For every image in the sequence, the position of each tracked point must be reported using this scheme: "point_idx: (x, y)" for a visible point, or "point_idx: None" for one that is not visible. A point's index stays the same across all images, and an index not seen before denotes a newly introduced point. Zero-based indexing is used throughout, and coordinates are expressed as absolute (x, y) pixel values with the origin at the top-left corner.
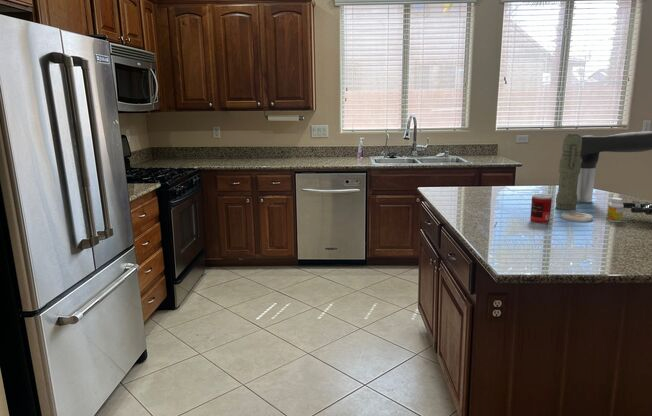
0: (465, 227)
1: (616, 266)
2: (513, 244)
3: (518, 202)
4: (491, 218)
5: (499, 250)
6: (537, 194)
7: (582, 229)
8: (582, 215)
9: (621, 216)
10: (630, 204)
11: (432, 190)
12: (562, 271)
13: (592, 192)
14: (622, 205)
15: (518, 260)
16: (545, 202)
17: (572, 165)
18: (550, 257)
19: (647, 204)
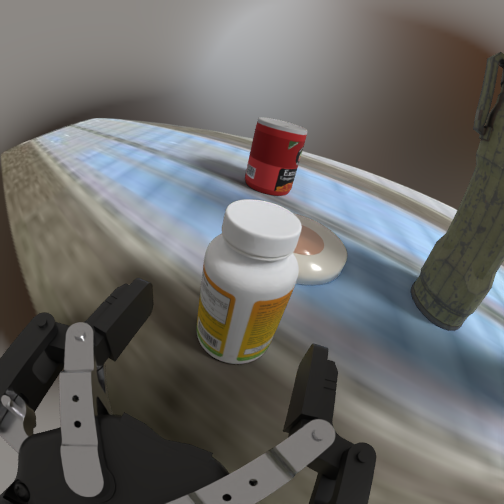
0: (240, 138)
1: (28, 148)
2: (147, 132)
3: None
4: None
5: (138, 125)
6: (304, 129)
7: (162, 192)
8: None
9: (200, 320)
10: (299, 398)
11: None
12: (63, 130)
13: None
14: (210, 259)
15: (106, 124)
16: (255, 129)
17: (478, 117)
18: (90, 133)
19: (179, 498)
